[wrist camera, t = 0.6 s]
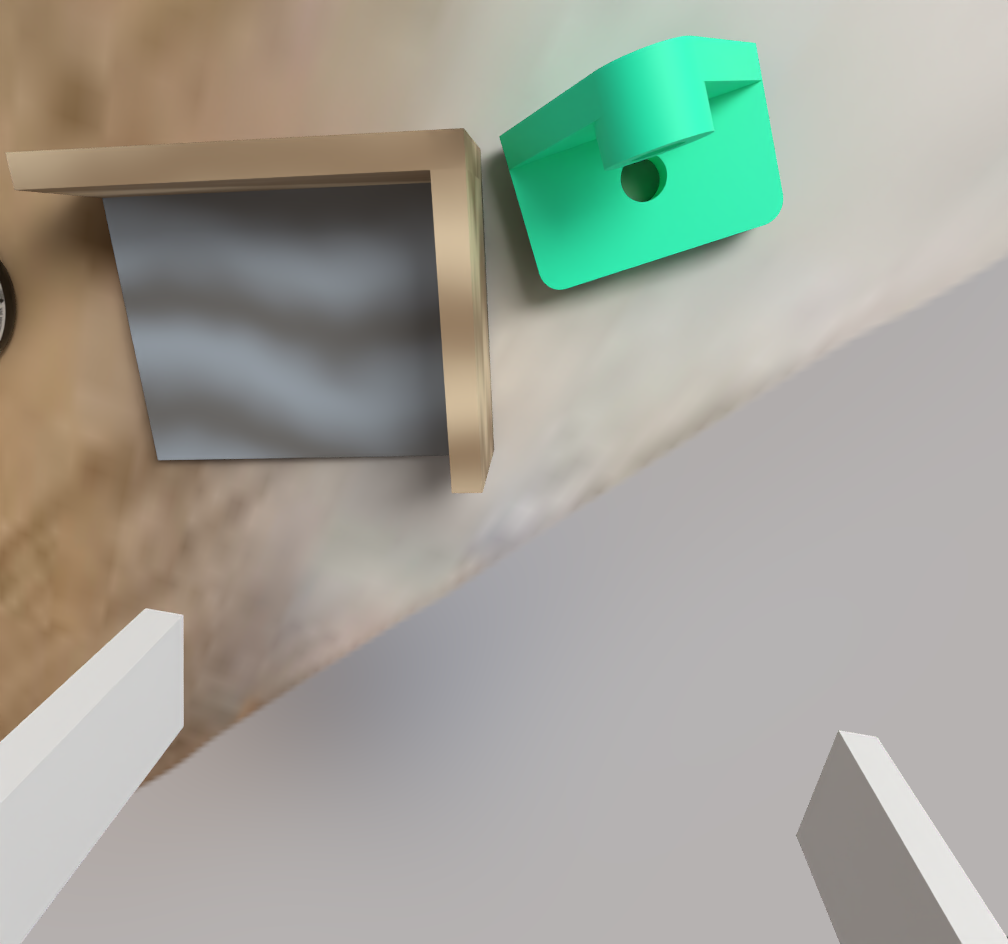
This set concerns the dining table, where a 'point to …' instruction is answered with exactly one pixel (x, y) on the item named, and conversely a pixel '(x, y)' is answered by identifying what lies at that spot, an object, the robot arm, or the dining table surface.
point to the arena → (300, 292)
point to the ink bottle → (6, 307)
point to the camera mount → (658, 138)
